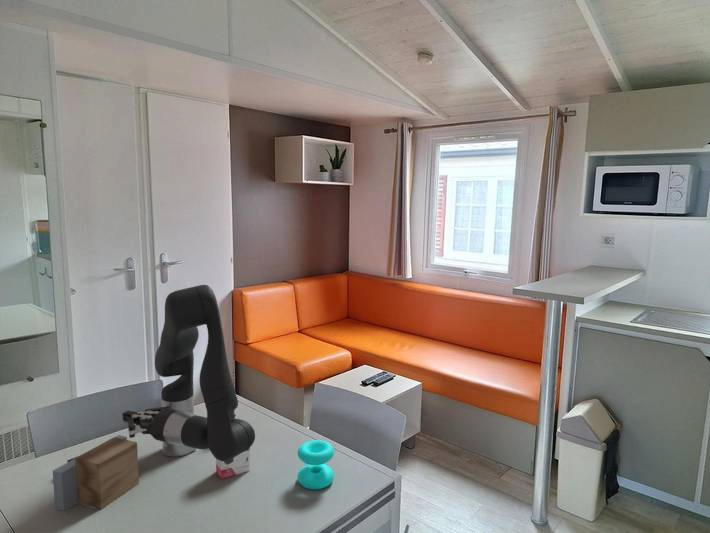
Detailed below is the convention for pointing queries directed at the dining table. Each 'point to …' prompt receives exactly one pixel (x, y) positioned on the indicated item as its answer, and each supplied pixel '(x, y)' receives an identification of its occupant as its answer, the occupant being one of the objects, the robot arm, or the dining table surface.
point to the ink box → (234, 465)
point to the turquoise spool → (315, 464)
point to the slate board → (67, 484)
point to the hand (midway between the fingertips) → (125, 415)
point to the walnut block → (106, 472)
